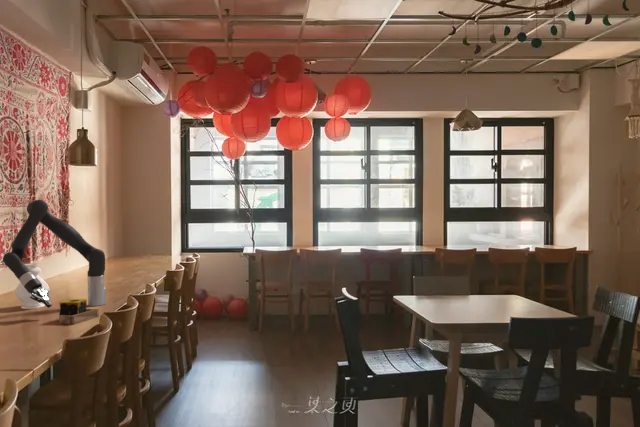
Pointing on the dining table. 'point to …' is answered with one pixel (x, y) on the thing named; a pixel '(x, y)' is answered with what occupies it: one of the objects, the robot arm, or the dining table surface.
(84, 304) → the candle
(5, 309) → the dining table surface
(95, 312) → the dock
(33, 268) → the decorative vase
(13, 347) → the dining table surface
